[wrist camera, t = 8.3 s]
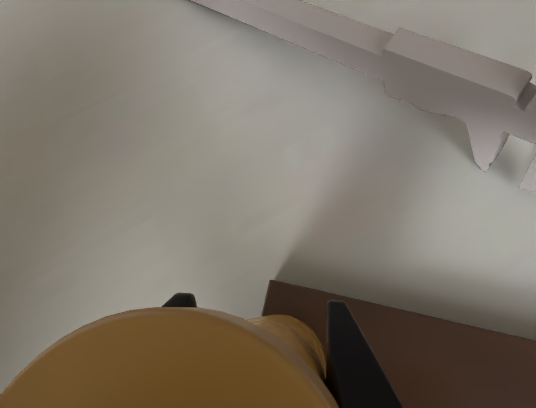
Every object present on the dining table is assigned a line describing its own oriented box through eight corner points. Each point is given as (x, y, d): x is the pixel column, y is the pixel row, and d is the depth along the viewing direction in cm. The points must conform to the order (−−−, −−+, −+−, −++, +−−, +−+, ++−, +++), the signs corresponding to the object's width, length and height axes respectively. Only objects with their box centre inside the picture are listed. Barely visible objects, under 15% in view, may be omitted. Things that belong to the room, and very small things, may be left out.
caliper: (539, 175, 16) (676, 94, 10) (526, 196, 16) (655, 128, 10) (166, -32, 21) (104, -170, 15) (153, -17, 21) (85, -150, 15)
